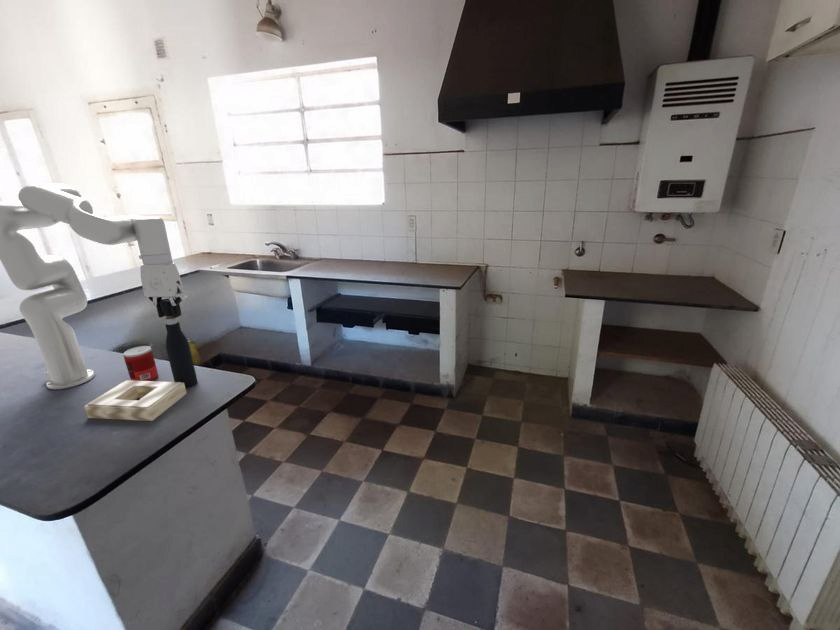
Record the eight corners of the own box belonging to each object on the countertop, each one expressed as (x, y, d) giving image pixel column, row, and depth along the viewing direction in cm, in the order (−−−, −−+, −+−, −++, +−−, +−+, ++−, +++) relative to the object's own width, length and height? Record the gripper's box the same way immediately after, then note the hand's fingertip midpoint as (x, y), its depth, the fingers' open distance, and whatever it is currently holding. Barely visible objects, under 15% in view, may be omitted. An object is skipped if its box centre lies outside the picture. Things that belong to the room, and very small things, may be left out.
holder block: (88, 417, 112) (83, 404, 110) (129, 391, 126) (126, 379, 124) (152, 421, 110) (148, 407, 109) (186, 393, 124) (183, 381, 123)
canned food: (163, 374, 137) (156, 346, 133) (146, 385, 129) (138, 356, 126) (144, 373, 138) (136, 345, 134) (125, 384, 130) (116, 355, 126)
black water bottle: (180, 391, 125) (159, 304, 115) (172, 385, 129) (150, 300, 118) (201, 383, 130) (182, 299, 120) (192, 378, 133) (173, 295, 123)
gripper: (121, 261, 112) (136, 319, 118) (174, 262, 110) (187, 321, 117) (140, 256, 119) (154, 311, 125) (191, 257, 117) (202, 313, 124)
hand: (170, 315), depth 121 cm, fingers closed on black water bottle, 3 cm apart
